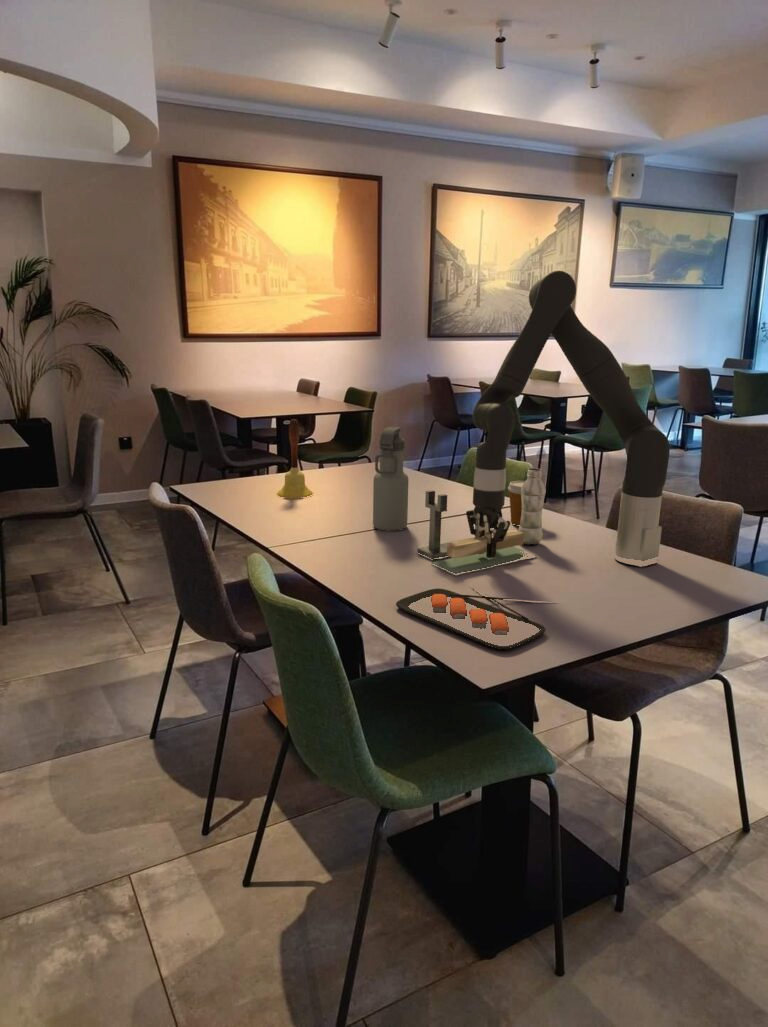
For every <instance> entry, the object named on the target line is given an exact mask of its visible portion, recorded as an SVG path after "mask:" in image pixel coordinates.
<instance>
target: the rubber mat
mask: <svg viewBox="0 0 768 1027" xmlns="http://www.w3.org/2000/svg"><path fill="white" fill-rule="evenodd" d="M520 551H521V552H520ZM522 551H523V553H522ZM524 551H525V550H524V549H521V548H517V547H516V546H513V547H509V548H504V549H499V550H496V555H495V556H494V557H492V558H488V557H486V552H485V553H483V554H475V555H470V556H466V557H461V558H456V559H454V558H452V557H450V558H448V559H447V558H445V559H443V560H442V559H441V560H438V561H437V560H436V561H431V565H432V564H435V565H437V566H439V567H441V568H444V569H446V570H448V571H450V572H453V573H455V574H457V573H461V572H467V571H472V570H477V569H482V568H487V567H491V566H494V565H498V564H502V563H506V562H510V561H514V560H517V559H520V558H521V557H523V554H524V556H525V553H524ZM526 555H527V553H526ZM527 557H528V556H527Z"/></svg>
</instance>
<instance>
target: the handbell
mask: <svg viewBox="0 0 768 1027" xmlns="http://www.w3.org/2000/svg"><path fill="white" fill-rule="evenodd" d="M288 440H289V443H290V456H291V457H290V459H291V460H290V461H291V462H290V463H291V464H290V465H291V468H290V470H289V471H287V472H286V473H285V474H284V485H283V486H282V488H281V489H279V490H278V491H277V492H276V496H277V495H278V496H280V497H279V498H281V497H285V498H284V499H290V498H299V499H302V498H301V497H307V496H310V495H312V494H313V495H314V492H313V491H312V490H311V489H309V487H307V485H306V480H305V479H306V477H305V474H304V472H303V471H300V469H299V464H298V463H299V456H298V450H299V449H298V447H299V441H300V426H299V421H298V420H297V419H294V418H293V419H290V420H289V427H288ZM313 495H312V496H313ZM278 496H277V497H278ZM310 497H311V496H310ZM307 498H308V497H307Z"/></svg>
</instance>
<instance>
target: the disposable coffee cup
mask: <svg viewBox="0 0 768 1027" xmlns="http://www.w3.org/2000/svg"><path fill="white" fill-rule="evenodd" d="M525 481H526V480H514V481H510V482H509V485H508V486H507V489H508V492H509V494H508V495H509V507H510V509H509V510H510V524H511V523H512V524H515V525H520V521H521V514H522V498H521V487H522V485H523V484H524V482H525ZM512 524H511V525H512Z"/></svg>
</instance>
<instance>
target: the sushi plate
mask: <svg viewBox="0 0 768 1027" xmlns="http://www.w3.org/2000/svg"><path fill="white" fill-rule="evenodd" d="M430 596H432V597H431V602H432V607H433V612H434V613H446V606H447V605H448V602H447V597H451V598H452V599H450V601H449V603H450V615H451V616H452V618H453V619H465V616H467V610H466V604H465V602H466V603H469V604H471V605H474V606H476V607H477V608H480V609H471V610H470V611H469V614H470V618H471V621H472V627H473V628H480V629H482V628H484V629H485V628H486V624H487V623H486V622H487V621H488V618H487V614H486V611H485V610H487V611H490V612H493V613H492V614H490V615H489V619H490V624H491V630H492V633H493V634H495V635H507V632H509V627H508V622H507V619H506V617H505V616H507V617H511V618H513V619H517V620H518V621H523V622H525V623H529V624H532V625H534V626H536V627H537V628H539V630H540V629H541V630H540V631H539V632H538V633H536V634H535V635H532V636H531V637H529V638H526V639H524V640H522V641H520V642H518V643H515V644H513V645H509V646H498V645H494V644H491V643H488V642H485V641H483V640H481V639H478V638H476V637H474V636H471V635H469V634H467V633H464V632H462V631H460V630H457V629H455V628H453V627H451V626H449V625H447V624H444V623H442V622H440V621H437V620H435V619H433V618H430V617H428V616H425V615H423V614H421V613H418V612H416V611H414V610H412V609H410V608H409V607H408V606H409V605H410V604H411V603H413V602H416V601H418V600H420V599H422V598H426V597H430ZM474 598H475V599H474ZM478 599H485V600H489V599H492V600H494V601H495V602H497V603H498V604H500V605H501V607H502V608H505V610H504V609H501V608H498V607H496V606H492V605H491V604H488V603H484V602H482V601H479V600H478ZM497 599H498V600H497ZM503 599H512V597H511V598H508V597H507V598H506V597H497V596H496V597H495V596H494V597H493V596H489V597H485V596H481V595H469V594H461V593H459V592H458V593H457V592H455V591H452V590H449V589H445V588H432V589H428V590H424V591H421V592H417V593H414V594H412V595H410V596H406V597H404V598H401V599H399V600H398V601H396V603H395V605H396V607H397V608H398V609H400V610H402V611H404V612H406V613H408V614H411V615H413V616H415V617H418V618H420V619H422V620H425V621H427V622H430V623H432V624H435V625H436V626H439V627H442V628H443V629H446V630H448V629H449V631H451V632H453V631H454V632H453V633H455V632H456V634H458V633H459V634H458V635H460V634H462V635H461V636H463V635H464V636H463V637H465V636H467V637H469V638H468V639H470V638H471V640H472V639H474V640H473V641H475V640H477V641H479V642H482V643H484V644H487V645H490V646H493V647H496V648H500V649H499V650H502V649H505V650H508V649H507V648H510V647H514V646H517V645H519V644H522V643H524V642H526V641H528V640H530V641H532V640H533V639H532V638H535V637H537V636H538V637H540V636H541V635H540V634H542V633H543V634H544V633H545V632H546V630H547V629H546V628H545V626H544V625H542V624H541V623H538V622H536V621H534V620H531V619H529V618H528V617H527V616H524V615H523V614H521V613H519V612H517V611H515V610H514V609H512V608H510V607H508V606H506V605H504V604H503V603H501V602H499V601H504V600H503ZM495 602H494V603H495ZM498 604H497V605H498ZM500 605H499V606H500ZM507 610H508V611H507ZM543 634H542V635H543ZM539 635H540V636H539ZM467 637H466V638H467ZM538 637H537V638H538ZM531 639H532V640H531ZM535 639H536V638H535ZM477 641H476V642H477ZM479 642H478V643H479ZM528 642H529V641H528ZM482 643H481V644H482ZM526 643H527V642H526ZM484 644H483V645H484ZM524 644H525V643H524ZM487 645H486V646H487ZM522 645H523V644H522ZM490 646H489V647H490ZM519 646H520V645H519ZM493 647H492V648H493ZM517 647H518V646H517ZM496 648H495V649H496ZM514 648H515V647H514Z"/></svg>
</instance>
